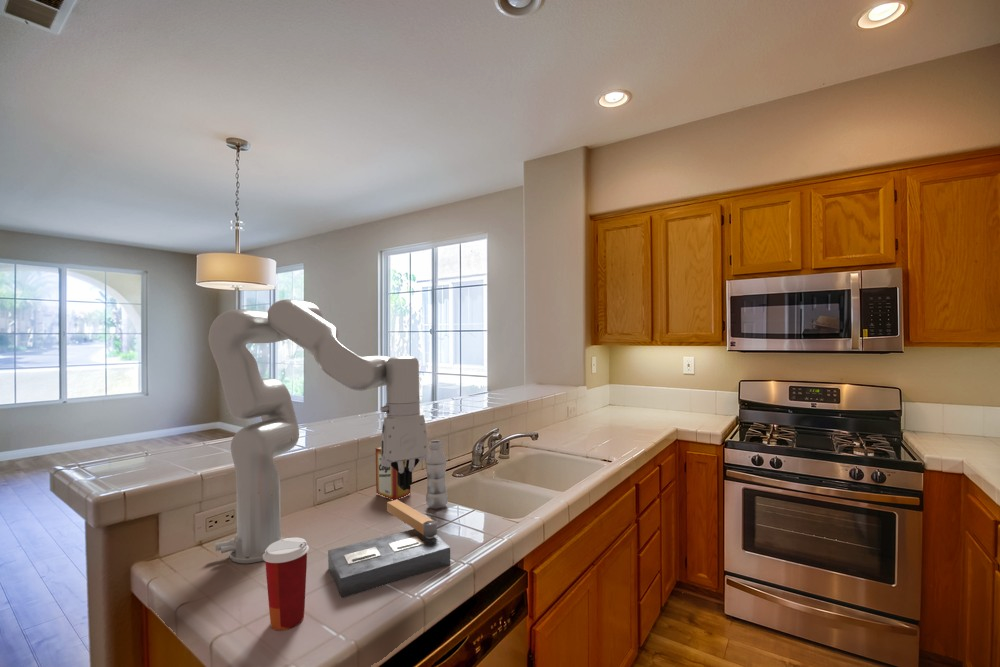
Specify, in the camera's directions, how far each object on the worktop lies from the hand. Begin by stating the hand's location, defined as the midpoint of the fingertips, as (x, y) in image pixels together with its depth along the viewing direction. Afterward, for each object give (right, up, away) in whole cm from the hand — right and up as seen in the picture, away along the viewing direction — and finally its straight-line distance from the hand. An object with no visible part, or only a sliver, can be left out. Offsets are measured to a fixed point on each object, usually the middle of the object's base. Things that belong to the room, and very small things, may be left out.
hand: (404, 488), depth 104 cm
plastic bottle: (+3, -18, +33) cm, 37 cm away
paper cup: (-17, -18, -21) cm, 33 cm away
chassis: (-3, -17, -2) cm, 18 cm away
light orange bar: (0, -12, +10) cm, 16 cm away
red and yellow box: (-13, -18, +44) cm, 49 cm away
